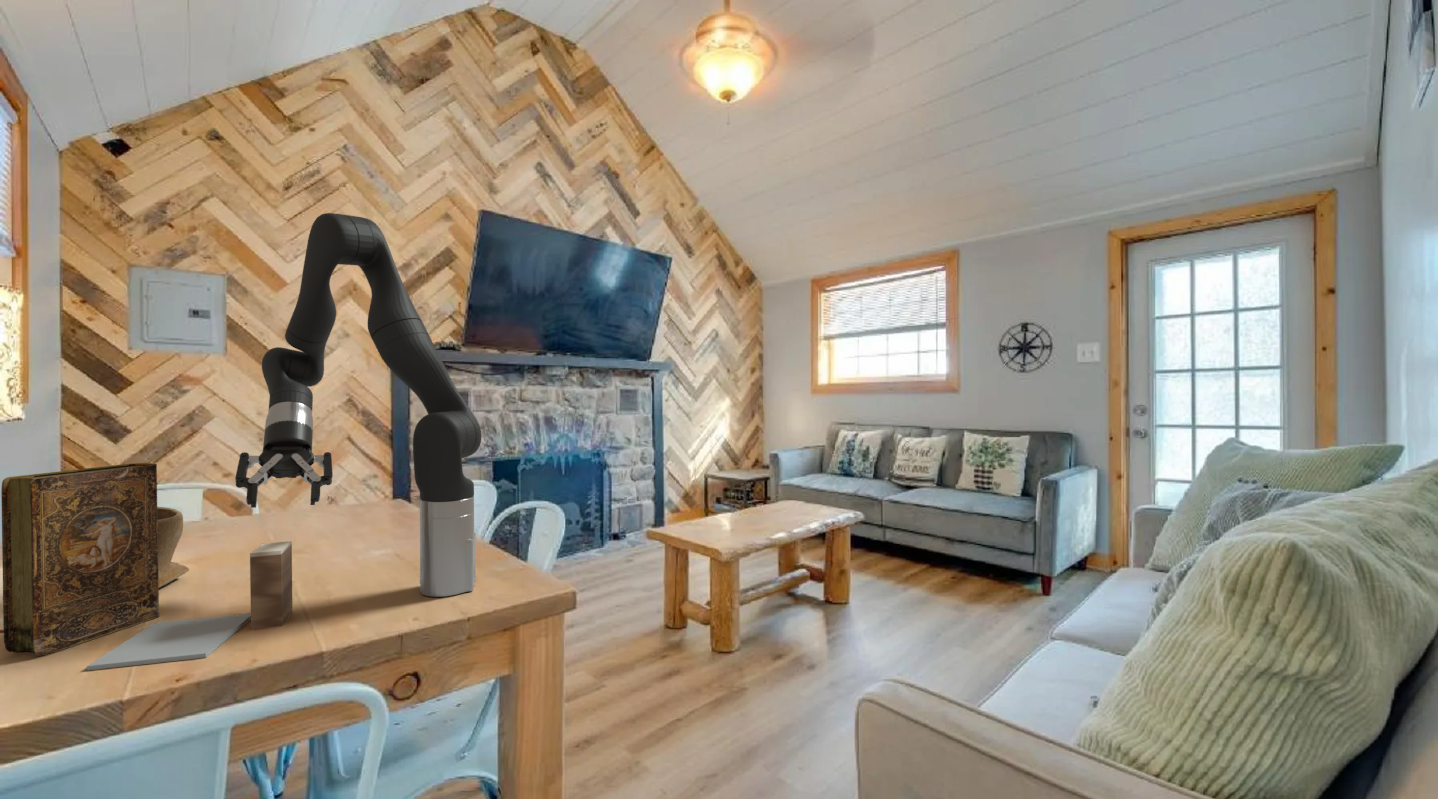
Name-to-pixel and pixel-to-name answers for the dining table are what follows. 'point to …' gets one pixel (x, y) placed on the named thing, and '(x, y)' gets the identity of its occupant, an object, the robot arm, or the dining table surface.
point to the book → (78, 555)
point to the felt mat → (173, 641)
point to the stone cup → (169, 544)
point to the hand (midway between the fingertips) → (283, 504)
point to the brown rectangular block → (271, 584)
